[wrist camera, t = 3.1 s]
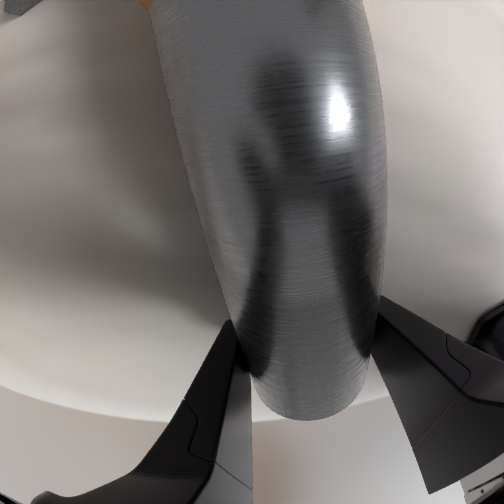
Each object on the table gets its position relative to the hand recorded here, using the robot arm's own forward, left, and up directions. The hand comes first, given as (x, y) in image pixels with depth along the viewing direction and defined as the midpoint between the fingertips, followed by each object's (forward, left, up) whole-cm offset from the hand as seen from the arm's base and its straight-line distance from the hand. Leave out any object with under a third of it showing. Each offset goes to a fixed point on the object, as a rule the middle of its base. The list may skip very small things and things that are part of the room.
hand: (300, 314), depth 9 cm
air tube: (0, -7, -1) cm, 7 cm away
